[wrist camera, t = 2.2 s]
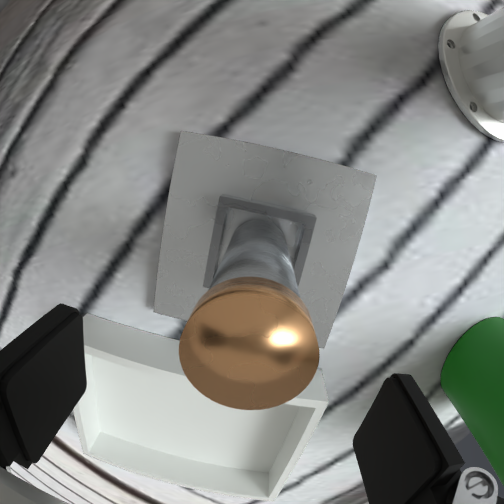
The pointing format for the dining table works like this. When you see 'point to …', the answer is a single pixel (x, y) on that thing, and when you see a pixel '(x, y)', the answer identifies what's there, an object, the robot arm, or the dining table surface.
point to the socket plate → (259, 208)
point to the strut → (251, 326)
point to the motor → (480, 386)
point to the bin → (184, 419)
